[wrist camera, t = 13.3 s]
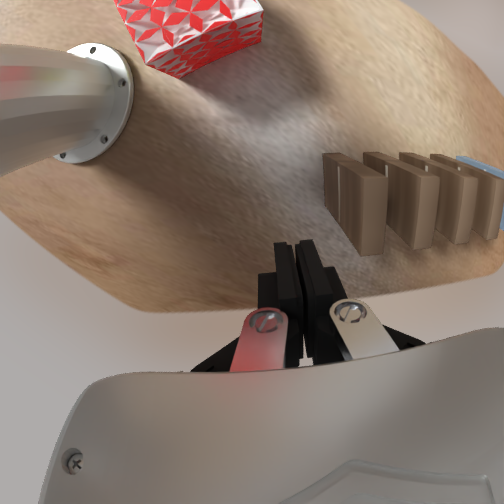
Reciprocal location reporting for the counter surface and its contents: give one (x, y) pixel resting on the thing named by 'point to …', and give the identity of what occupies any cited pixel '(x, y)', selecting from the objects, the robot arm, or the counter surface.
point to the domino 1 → (356, 201)
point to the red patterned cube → (190, 30)
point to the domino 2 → (408, 198)
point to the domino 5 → (488, 169)
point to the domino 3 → (450, 197)
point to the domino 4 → (482, 197)
